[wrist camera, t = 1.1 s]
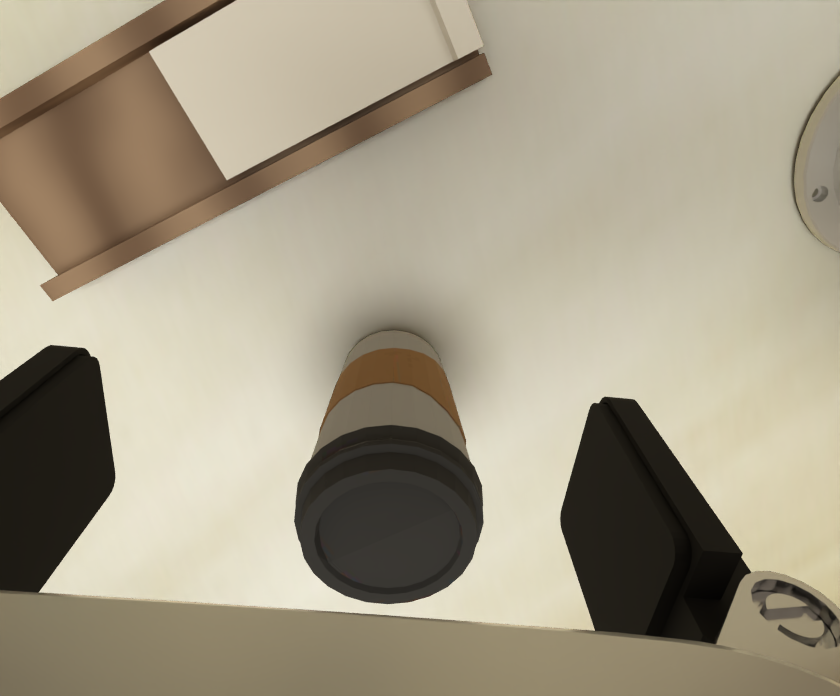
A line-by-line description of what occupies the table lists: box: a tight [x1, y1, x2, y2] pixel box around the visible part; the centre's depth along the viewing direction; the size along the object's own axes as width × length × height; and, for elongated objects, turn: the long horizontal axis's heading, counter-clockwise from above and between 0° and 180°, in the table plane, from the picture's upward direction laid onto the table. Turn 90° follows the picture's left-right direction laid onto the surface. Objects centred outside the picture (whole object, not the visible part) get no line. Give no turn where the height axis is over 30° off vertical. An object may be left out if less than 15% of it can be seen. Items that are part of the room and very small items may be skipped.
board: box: [0, 0, 492, 301], centre depth 28 cm, size 26×9×3 cm, turn 115°
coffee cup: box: [294, 330, 483, 604], centre depth 30 cm, size 8×8×15 cm
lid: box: [149, 0, 484, 180], centre depth 26 cm, size 14×6×3 cm, turn 115°
